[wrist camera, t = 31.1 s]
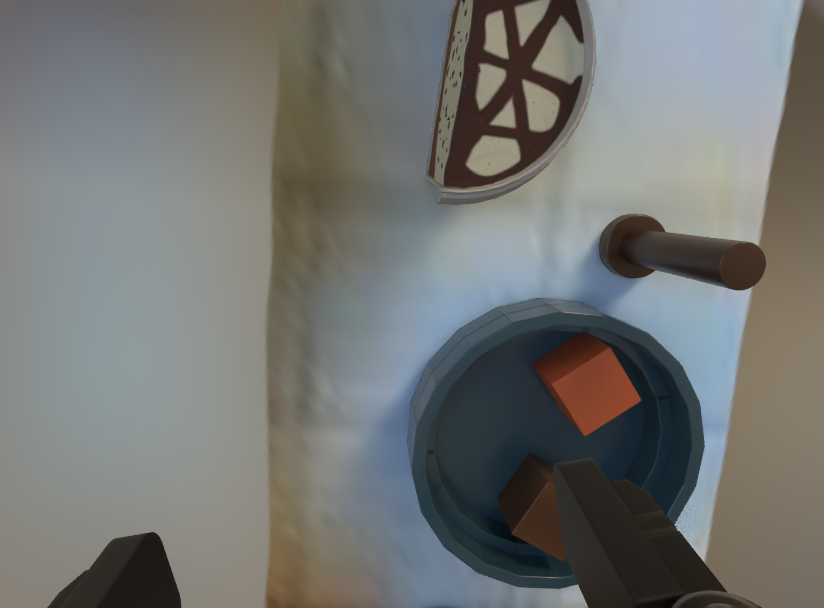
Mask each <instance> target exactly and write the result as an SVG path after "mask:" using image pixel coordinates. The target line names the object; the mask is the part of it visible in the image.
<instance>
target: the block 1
mask: <svg viewBox="0 0 824 608" xmlns="http://www.w3.org/2000/svg"><path fill="white" fill-rule="evenodd" d="M553 467H554V466H552V465H550V464H549V463H547V462H545V461H543V460H542V459H540V458H538V457H537V456H535V455H533V454H531V453H529V454H528V455H527V456H526V458H525V459H524V461H523V462H522V464H521V465H520V467H519V468H518V469H517V471H516V472H515V474H514V475H513V477H512V478H511V480H510V481H509V482H508V484H507V485H506V487H505V488H504V490H503V491H502V492H501V494H500V495H499V497H498V498H497V500H498V502H499V505H500V507H501V510H502V512H503V514H504V517H505V519H506V522H507V524H508V526H509V529H510V531H511V533H512V534H513V535H514V536H516V537H518V538H520V539H522V540H524V541H525V542H527V543H529V544H531V545H533V546H535V547H537V548H538V549H540V550H542V551H544V552H546V553H548V554H549V555H551V556H553V557H555V558H557V559H559V560H561V561H562V562H563V561H564V560H565V559H566V557H567V556H566V553H565V550H564V546H563V542H562V537H561V532H560V524H559V516H558V507H557V499H556V491H555V482H554V473H553Z"/></svg>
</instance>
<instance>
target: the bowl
mask: <svg viewBox="0 0 824 608" xmlns="http://www.w3.org/2000/svg"><path fill="white" fill-rule="evenodd" d="M579 333H585V334H588V335H590V336H592V337H594V338H596V339H598V340H599V341H601V342H602V343H604V344H606V345H607V346H609V347H610V348H611V349H612V351H613V353H614V354H615V356H616V358H617V359H618V361H619V363H620V365H621V366H622V368H623V370H624V371H625V373H626V375H627V376H628V378H629V380H630V381H631V383H632V385H633V387H634V388H635V390H636V392H637V393H638V395H639V397H640V398H641V401H640V402H639V403H637V404H636V405H634V406H632V407H631V408H629V409H628V410H626V411H625V412H623V413H621V414H620V415H618V416H617V417H615V418H613V419H612V420H610V421H609V422H607V423H606V424H604V425H602V426H601V427H599V428H598V429H596V430H595V431H593V432H591V433H590V434H588V435H587V436H584V435H583V434H582V433H581V432H580V431H579V430H578V429H577V428H576V427H575V425H574V424H573V423H572V422H571V421H570V420H569V419H568V418H567V416H566V415H565V414H564V413H563V412H562V411H561V409H560V408H559V406H558V405H557V403H556V401H555V400H554V398H553V397H552V395H551V394H550V392H549V390H548V389H547V387H546V386H545V384H544V383H543V381H542V379H541V378H540V376H539V375H538V373H537V371H536V370H535V368H534V367H533V365H532V364H533V363H534V362H536V361H537V360H539V359H540V358H542V357H544V356H545V355H547V354H548V353H550V352H551V351H553V350H554V349H556V348H558V347H559V346H561V345H562V344H564V343H565V342H567V341H568V340H570V339H571V338H573V337H575V336H576V335H578V334H579ZM411 400H412V401H411V406H410V416H409V425H408V434H407V444H408V450H409V457H410V464H411V471H412V475H413V480H414V484H415V488H416V492H417V497H418V501H419V505H420V509H421V512H422V514H423V516H424V517H425V519H426V521H427V522H428V524H429V525H430V527H431V528H432V530H433V531H434V533H435V534H436V536H437V537H438V539H439V540H440V542H441V544H442V545H443V547H444V548H446V549H447V550H448V551H450V552H451V553H452V554H454V555H455V556H456V557H458V558H459V559H460V560H461V561H463V562H464V563H465V564H467V565H468V566H469V567H471V568H472V569H473V570H474V571H476V572H478V573H479V574H482V575H485V576H488V577H491V578H494V579H496V580H499V581H502V582H505V583H508V584H511V585H514V586H518V587H525V588H552V589H561V588H565V587H569V586H573V585H577V584H578V583H577V581H576V578H575V576H574V574H573V572H572V569H571V567H570V565H569V562H568V560H567V557H566V559H565V560H564V561H563V562H562V561H561V560H559V559H557V558H555V557H553V556H551V555H549V554H548V553H546V552H544V551H542V550H540V549H538V548H537V547H535V546H533V545H531V544H529V543H527V542H525V541H524V540H522V539H520V538H518V537H516V536H514V535H513V534H512V533H511V531H510V529H509V526H508V524H507V522H506V519H505V517H504V514H503V512H502V510H501V507H500V505H499V502H498V500H497V498H498V497H499V495H500V494H501V492H502V491H503V490H504V488H505V487H506V485H507V484H508V482H509V481H510V480H511V478H512V477H513V475H514V474H515V472H516V471H517V469H518V468H519V467H520V465H521V464H522V462H523V461H524V459H525V458H526V456H527V455H528V454H529V453H531V454H533V455H535V456H537V457H538V458H540V459H542V460H543V461H545V462H547V463H549V464H550V465H552V466H554V464H556V463H562V462H567V461H573V460H579V459H585V458H590V457H591V458H593V459H594V461H595V462H596V463H597V465H598V466H599V468H600V469H601V471H602V472H603V474H604V475H605V476H606V478H607V479H608V481H615V480H620V479H627V480H629V481H630V482H632V483H634V484H635V485H637V486H639V487H640V488H642V489H644V490H645V491H647V492H649V494H650V495H651V496H652V497H653V499H654V500H655V501H656V502H657V504H658V505H659V506H660V507H661V509H662V510H663V512H664V515H667V516H668V518H669V519H670V520H671V521H672V523H673V524H675V523H676V521H677V519H678V517H679V516H680V514H681V512H682V510H683V508H684V507H685V505H686V503H687V501H688V500H689V498H690V496H691V494H692V492H693V491H694V489H695V487H696V484H697V479H698V474H699V470H700V465H701V461H702V456H703V451H704V447H705V445H704V435H703V426H702V417H701V408H700V403H699V400H698V398H697V396H696V394H695V392H694V390H693V388H692V386H691V383H690V381H689V379H688V377H687V375H686V373H685V371H684V369H683V367H682V365H681V364H680V362H678V361H677V360H676V359H675V358H674V357H673V356H672V355H671V354H670V353H669V352H668V351H667V350H666V349H665V348H664V347H663V346H662V345H661V344H660V343H659V342H658V341H657V340H655V339H654V338H653V337H652V336H651V335H650V334H649V333H647V332H645V331H643V330H641V329H639V328H637V327H635V326H633V325H631V324H629V323H626V322H624V321H622V320H620V319H618V318H616V317H614V316H612V315H609V314H607V313H605V312H603V311H600V310H598V309H596V308H594V307H591V306H589V305H587V304H584V303H582V302H578V301H566V300H555V299H544V298H536V299H532V300H528V301H523V302H519V303H514V304H510V305H506V306H501V307H497V308H495V309H493V310H491V311H490V312H488V313H486V314H484V315H483V316H481V317H479V318H478V319H476V320H474V321H472V322H471V323H469V324H467V325H466V326H464V327H462V328H460V329H459V331H457V332H456V333H455V334H454V335H453V336H452V337H451V338H450V339H449V340H448V341H447V342H446V344H445V345H444V346H443V347H442V348H441V349H440V350H439V351H438V352H437V353H436V354H435V356H434V357H433V358H432V359H431V360H430V361H429V362H428V364H427V366H426V369H425V371H424V373H423V375H422V377H421V380H420V382H419V384H418V386H417V388H416V390H415V393H414V395H413V397H412V399H411Z"/></svg>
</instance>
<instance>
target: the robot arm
mask: <svg viewBox="0 0 824 608" xmlns="http://www.w3.org/2000/svg"><path fill="white" fill-rule="evenodd" d="M553 473H554V482H555V491H556V499H557V507H558V516H559V524H560V532H561V537H562V542H563V546H564V550H565V553H566V556H567V560H568V562H569V565H570V567H571V569H572V572H573V574H574V576H575V578H576V581H577V583H578V585H579V587H580V590H581V592H582V594H583V596H584V598H585V601H586V603H587V605H588V607H589V608H762V607H760V606H758V605H757V604H755V603H753V602H751V601H749V600H747V599H745V598H743V597H740V596H737V595H734V594H730V593H728V592H727V591H726V590H725V589H724V588H723V586H722V585H721V583H720V582H719V581H718V580H717V578H716V577H715V576H714V575H713V573H712V572H711V571H710V570H709V568H708V567H707V566H706V564H705V563H704V562H703V561H702V559H701V558H700V557H699V556H698V554H697V553H696V552H695V551H694V549H693V548H692V547H691V545H690V544H689V543H688V542H687V540H686V539H685V538H684V537H683V535H682V534H681V533H680V532H679V531H677V530H676V526H675V525H674V524H673V523H672V521H671V520H670V519H669V518H668V516H667V515H664V512H663V510H662V509H661V507H660V506H659V505H658V504H657V502H656V501H655V500H654V499H653V497H652V496H651V495H650V494H649V492H647V491H645V490H644V489H642V488H640V487H639V486H637V485H635V484H634V483H632V482H630V481H629V480H627V479H620V480H615V481H608V479H607V478H606V476H605V475H604V474H603V472H602V471H601V469H600V468H599V466H598V465H597V463H596V462H595V461H594V459H593V458H591V457H590V458H585V459H579V460H573V461H567V462H562V463H556V464H554V467H553ZM48 608H181V599H180V594H179V591H178V588H177V585H176V582H175V579H174V576H173V573H172V570H171V567H170V564H169V562H168V558H167V556H166V552H165V550H164V546H163V543H162V541H161V539H160V537H159V536H158V535H157V534H156V533H154V532H150V533H145V534H139V535H133V536H127V537H121V538H116V539H113V540H112V541H111V542H110V543H109V544H108V545H107V546H106V548H105V549H104V550H103V552H102V553H101V554H100V556H99V557H98V558H97V560H96V561H95V562H94V564H93V565H92V566H91V567H90V569H89V570H86V571H85V572H83V573H82V574H81V575H80V576H78V577H77V578H76V579H75V580H74V581H73V582H71V583H70V584H69V585H68V586H67V587H65V588H64V589H63V590H62V591H61V592H59V594H58V595H57V596H56V597H55V599H54V600H53V601H52V603H51V604H50V605H49V606H48Z"/></svg>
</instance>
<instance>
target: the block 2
mask: <svg viewBox="0 0 824 608" xmlns="http://www.w3.org/2000/svg"><path fill="white" fill-rule="evenodd" d="M532 365H533V367H534V368H535V370H536V371H537V373H538V375H539V376H540V378H541V379H542V381H543V383H544V384H545V386H546V387H547V389H548V390H549V392H550V394H551V395H552V397H553V398H554V400H555V401H556V403H557V405H558V406H559V408H560V409H561V411H562V412H563V413H564V414H565V415H566V416H567V418H568V419H569V420H570V421H571V422H572V423H573V424H574V425H575V427H576V428H577V429H578V430H579V431H580V432H581V433H582V434H583V435H584V436H587V435H588V434H590V433H591V432H593V431H595V430H596V429H598V428H599V427H601V426H602V425H604V424H606V423H607V422H609V421H610V420H612V419H613V418H615V417H617V416H618V415H620V414H621V413H623V412H625V411H626V410H628V409H629V408H631V407H632V406H634V405H636V404H637V403H639V402H640V401H641V398H640V397H639V395H638V393H637V392H636V390H635V388H634V387H633V385H632V383H631V381H630V380H629V378H628V376H627V375H626V373H625V371H624V370H623V368H622V366H621V365H620V363H619V361H618V359H617V358H616V356H615V354H614V353H613V351H612V349H611V348H610V347H609V346H607V345H606V344H604V343H602V342H601V341H599V340H598V339H596V338H594V337H592V336H590V335H588V334H585V333H579V334H578V335H576V336H575V337H573V338H571V339H570V340H568V341H567V342H565V343H564V344H562V345H561V346H559V347H558V348H556V349H554V350H553V351H551V352H550V353H548V354H547V355H545V356H544V357H542V358H540V359H539V360H537V361H536V362H534V363H533V364H532Z"/></svg>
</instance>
